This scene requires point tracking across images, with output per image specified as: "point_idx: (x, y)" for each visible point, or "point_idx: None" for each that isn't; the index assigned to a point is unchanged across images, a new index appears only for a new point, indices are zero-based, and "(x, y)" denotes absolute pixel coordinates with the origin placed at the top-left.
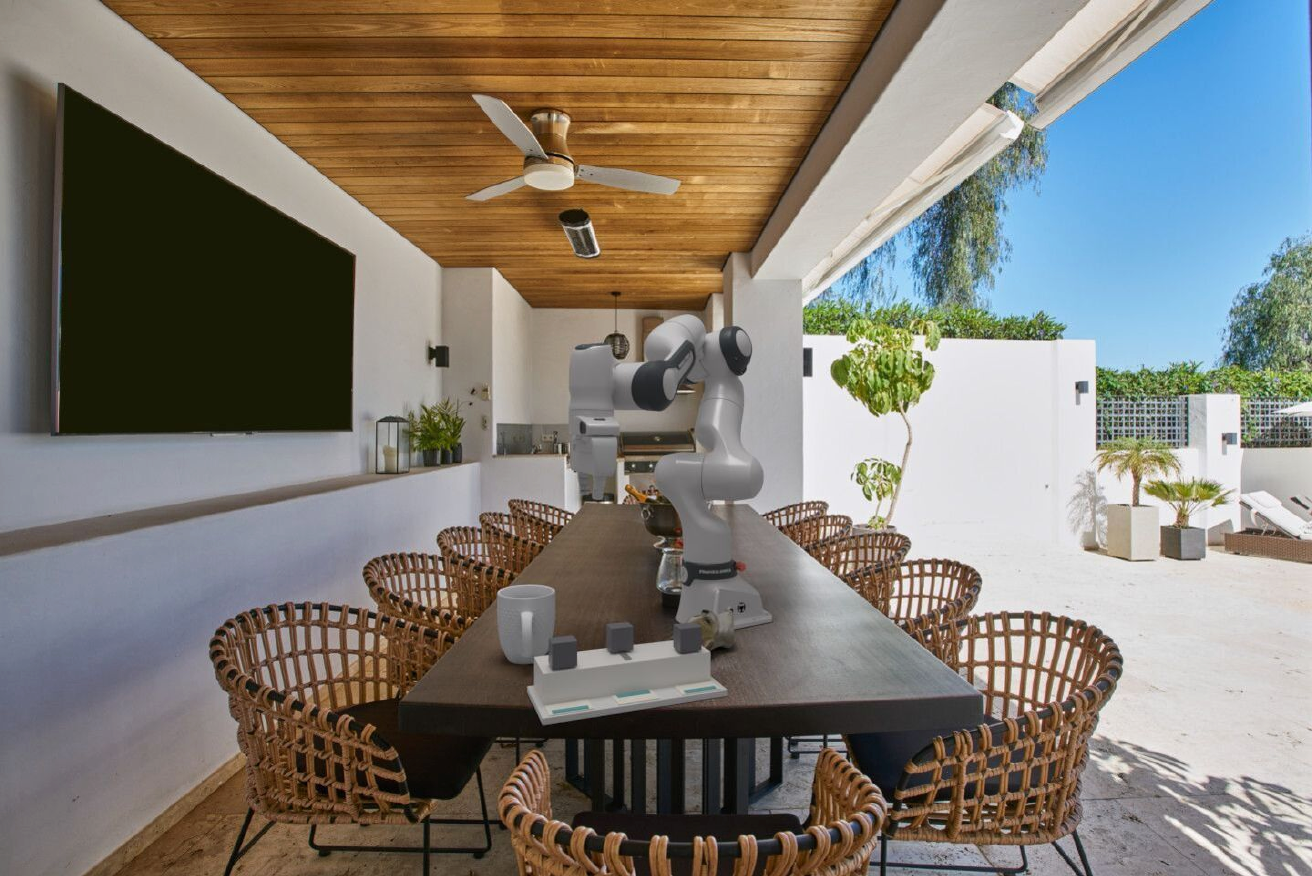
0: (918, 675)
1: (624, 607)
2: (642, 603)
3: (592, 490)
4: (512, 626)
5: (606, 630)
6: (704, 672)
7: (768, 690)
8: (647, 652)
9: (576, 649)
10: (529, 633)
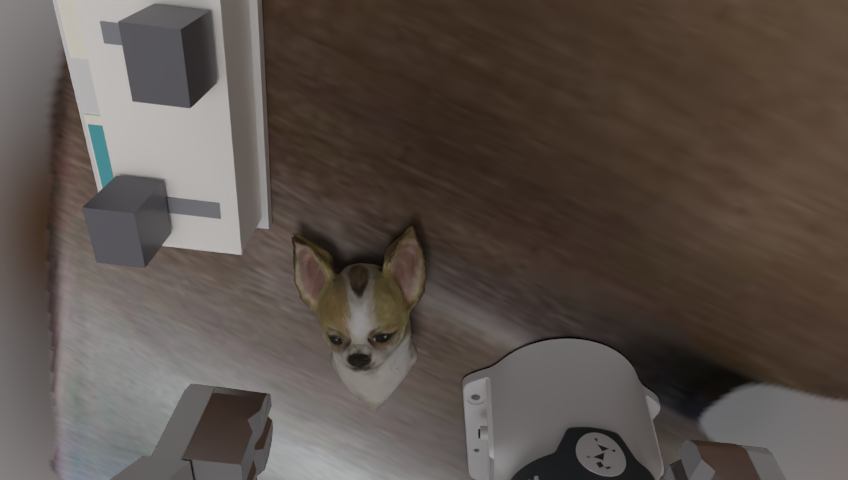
0: None
1: (803, 294)
2: (795, 345)
3: (224, 458)
4: None
5: (186, 23)
6: None
7: (123, 278)
8: (155, 108)
9: None
10: None
